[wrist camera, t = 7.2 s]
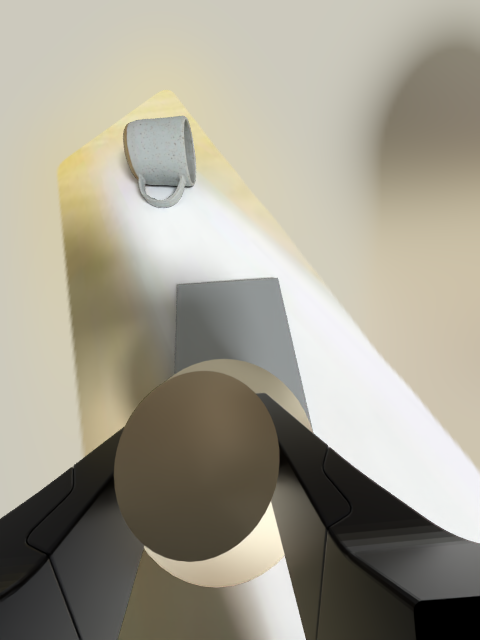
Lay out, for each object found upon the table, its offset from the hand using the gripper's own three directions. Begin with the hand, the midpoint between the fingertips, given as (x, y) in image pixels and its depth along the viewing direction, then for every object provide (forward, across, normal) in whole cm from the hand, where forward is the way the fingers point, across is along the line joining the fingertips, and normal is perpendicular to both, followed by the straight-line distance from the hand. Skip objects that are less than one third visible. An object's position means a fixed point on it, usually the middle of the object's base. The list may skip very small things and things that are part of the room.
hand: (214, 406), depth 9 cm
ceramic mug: (+32, +7, -15) cm, 36 cm away
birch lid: (+3, 0, +5) cm, 6 cm away
